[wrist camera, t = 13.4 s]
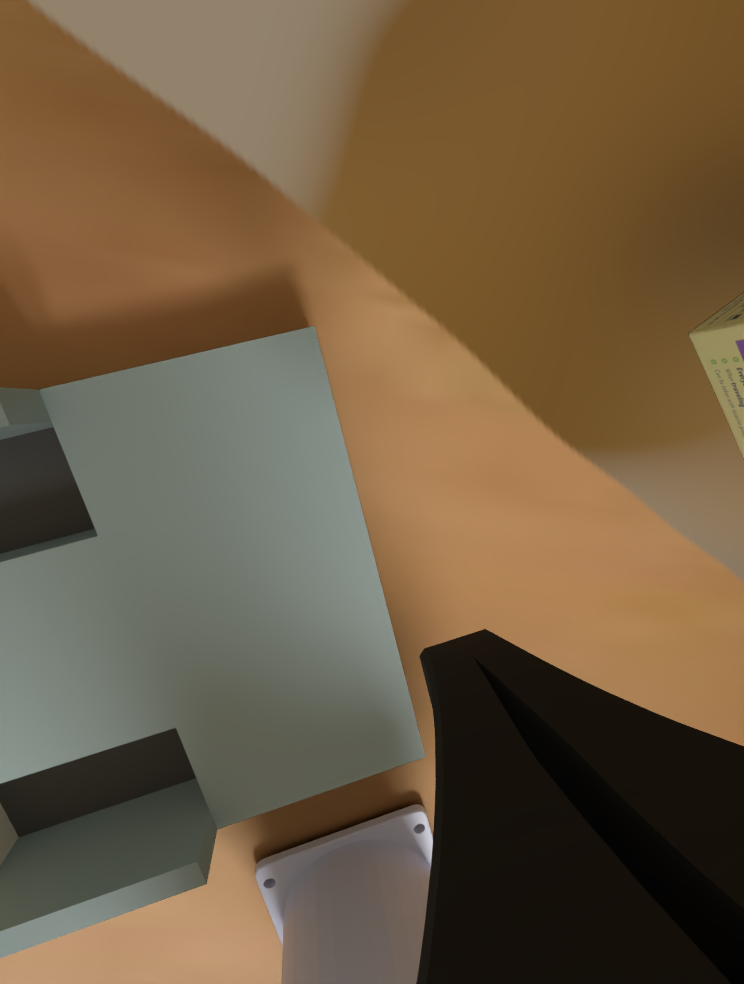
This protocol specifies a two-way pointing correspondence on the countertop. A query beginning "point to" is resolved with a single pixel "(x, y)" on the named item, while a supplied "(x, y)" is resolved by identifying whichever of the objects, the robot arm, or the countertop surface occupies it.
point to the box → (725, 361)
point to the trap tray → (179, 625)
